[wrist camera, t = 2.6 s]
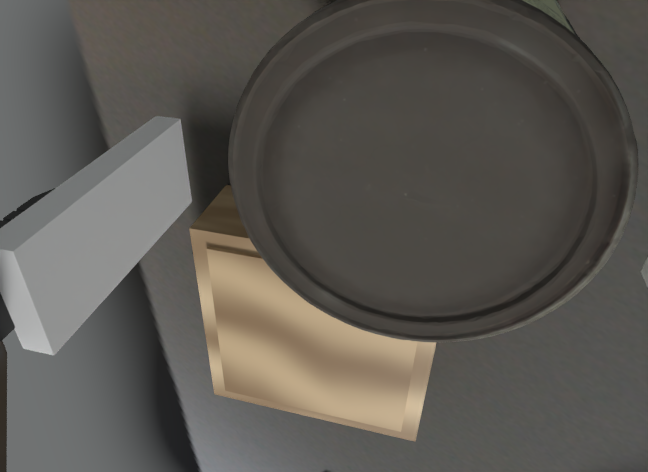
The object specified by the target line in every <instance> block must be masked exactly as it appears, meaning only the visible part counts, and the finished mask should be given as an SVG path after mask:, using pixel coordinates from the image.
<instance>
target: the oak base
mask: <svg viewBox="0 0 648 472" xmlns="http://www.w3.org/2000/svg"><path fill="white" fill-rule="evenodd" d="M189 229H190V235H191V242H192V249H193V255H194V262H195V268H196V275H197V282H198V288H199V295H200V301H201V308H202V315H203V321H204V328H205V334H206V341H207V348H208V354H209V361H210V367H211V374H212V381H213V387H214V394H216V395H220V396H225V397H229V398H233V399H237V400H241V401H246V402H250V403H254V404H258V405H263V406H267V407H271V408H275V409H280V410H284V411H288V412H292V413H297V414H301V415H305V416H309V417H313V418H318V419H322V420H326V421H330V422H335V423H339V424H343V425H347V426H352V427H356V428H360V429H364V430H368V431H373V432H377V433H381V434H385V435H390V436H394V437H398V438H402V439H407V440H411V441H416V436H417V431H418V426H419V422H420V417H421V412H422V408H423V403H424V398H425V393H426V389H427V384H428V379H429V375H430V370H431V365H432V360H433V356H434V351H435V346H436V342H435V343H434V342H419V341H410V340H400V339H395V338H390V337H386V336H382V335H377V334H374V333H370V332H367V331H364V330H361V329H358V328H356V327H353V326H351V325H349V324H346V323H344V322H342V321H340V320H338V319H336V318H334V317H331V316H330V315H328V314H326V313H324V312H323V311H321V310H319V309H318V308H316V307H314V306H313V305H311V304H309V303H308V302H307V301H305V300H304V299H303V298H302V297H300V296H299V295H298V294H297V293H295V292H294V291H293V290H292V289H291V288H289V287H288V286H287V285H286V284H285V283H284V282H283V281H282V280H281V279H280V278H279V277H278V276H277V275H276V274H275V273H274V272H273V271H272V270H271V269H270V268H269V266H268V265H267V264H266V262H265V261H264V260H263V258H262V257H261V256H260V254H259V253H258V251H257V250H256V249H255V247H254V245H253V244H252V242H251V240H250V239H249V236H248V234H247V232H246V229H245V227H244V226H243V224H242V222H241V219H240V216H239V213H238V210H237V208H236V204H235V201H234V198H233V194H232V188H231V186H230V185H226V186H225V187H224V188H223V189H222V190H221V192H220V193H219V194H218V195H217V196H216V198H215V199H214V200H213V201H212V202H211V203H210V205H209V206H208V207H207V208H206V209H205V211H204V212H203V213H202V214H201V215H200V216H199V218H198V219H197V220H196V221H195V222H194V224H193V225H192V226H191V227H190V228H189Z"/></svg>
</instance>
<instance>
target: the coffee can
mask: <svg viewBox="0 0 648 472" xmlns="http://www.w3.org/2000/svg"><path fill="white" fill-rule="evenodd" d="M228 167H229V178H230V184H231V188H232V194H233V198H234V201H235V204H236V208H237V210H238V213H239V216H240V219H241V222H242V224H243V226H244V227H245V229H246V232H247V234H248V236H249V239H250V240H251V242H252V244H253V245H254V247H255V249H256V250H257V251H258V253H259V254H260V256H261V257H262V258H263V260H264V261H265V262H266V264H267V265H268V266H269V268H270V269H271V270H272V271H273V272H274V273H275V274H276V275H277V276H278V277H279V278H280V279H281V280H282V281H283V282H284V283H285V284H286V285H287V286H288V287H289V288H291V289H292V290H293V291H294V292H295V293H297V294H298V295H299V296H300V297H302V298H303V299H304V300H305V301H307V302H308V303H309V304H311V305H313V306H314V307H316V308H318V309H319V310H321V311H323V312H324V313H326V314H328V315H330V316H331V317H334V318H336V319H338V320H340V321H342V322H344V323H346V324H349V325H351V326H353V327H356V328H358V329H361V330H364V331H367V332H370V333H374V334H377V335H382V336H386V337H390V338H395V339H400V340H410V341H419V342H434V343H435V342H458V341H468V340H475V339H480V338H485V337H490V336H494V335H498V334H502V333H505V332H508V331H511V330H514V329H517V328H519V327H522V326H524V325H527V324H529V323H532V322H534V321H536V320H538V319H539V318H541V317H543V316H544V315H546V314H548V313H550V312H552V311H554V310H555V309H557V308H558V307H560V306H561V305H563V304H564V303H566V302H567V301H568V300H570V299H571V298H572V297H573V296H575V295H576V294H577V293H578V292H579V291H580V290H581V289H582V288H584V287H585V286H586V285H587V284H588V283H589V282H590V281H591V280H592V279H593V278H594V276H595V275H596V274H597V273H598V272H599V271H600V269H601V268H602V267H603V266H604V265H605V263H606V262H607V260H608V259H609V257H610V256H611V255H612V253H613V251H614V249H615V248H616V246H617V244H618V242H619V241H620V239H621V237H622V235H623V232H624V230H625V228H626V226H627V223H628V221H629V218H630V214H631V210H632V208H633V204H634V200H635V194H636V188H637V182H638V149H637V143H636V139H635V135H634V131H633V127H632V122H631V119H630V116H629V113H628V110H627V107H626V104H625V102H624V100H623V98H622V95H621V93H620V91H619V89H618V87H617V85H616V84H615V82H614V80H613V79H612V77H611V75H610V74H609V72H608V71H607V70H606V68H605V67H604V66H603V65H602V63H601V62H600V61H599V60H598V58H597V57H596V56H595V55H594V54H593V52H592V51H591V50H590V49H589V48H588V47H587V45H586V44H585V43H584V42H583V41H581V40H580V38H579V37H578V35H577V34H576V33H575V31H574V29H573V27H572V26H571V24H570V22H569V20H568V19H567V18H566V16H565V15H564V13H563V11H562V9H561V8H560V6H559V4H558V2H557V1H556V0H336V1H335V2H333V3H331V4H329V5H327V6H325V7H323V8H321V9H320V10H318V11H316V12H315V13H313V14H312V15H310V16H309V17H307V18H306V19H304V20H303V21H301V22H300V23H299V24H297V25H296V26H295V27H293V28H292V29H291V30H290V31H289V32H288V33H287V34H286V35H285V36H283V37H282V38H281V39H280V40H279V41H278V42H277V43H276V44H275V45H274V46H273V47H272V48H271V49H270V50H269V52H268V53H267V54H266V56H265V57H264V58H263V60H262V61H261V62H260V64H259V65H258V66H257V68H256V69H255V71H254V72H253V74H252V76H251V78H250V80H249V82H248V84H247V85H246V87H245V89H244V92H243V94H242V96H241V98H240V100H239V103H238V106H237V109H236V113H235V116H234V118H233V123H232V127H231V133H230V138H229V149H228Z"/></svg>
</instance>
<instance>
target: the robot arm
mask: <svg viewBox="0 0 648 472" xmlns="http://www.w3.org/2000/svg"><path fill="white" fill-rule="evenodd" d="M191 202H192V198H191V191H190V184H189V177H188V169H187V162H186V155H185V148H184V141H183V134H182V126H181V119H177V118H169V117H161V116H155V117H154V118H153V119H151V120H150V121H148V122H147V123H146V124H144V125H143V126H141V127H140V128H139V129H137V130H136V131H135V132H133V133H132V134H130V135H129V136H128V137H126V138H125V139H123V140H122V141H121V142H119V143H118V144H116V145H115V146H114V147H112V148H111V149H110V150H108V151H107V152H105V153H104V154H103V155H101V156H100V157H98V158H97V159H96V160H94V161H93V162H92V163H90V164H89V165H87V166H86V167H85V168H83V169H82V170H81V171H79V172H78V173H76V174H75V175H74V176H72V177H71V178H69V179H68V180H67V181H65V182H64V183H62V184H61V185H60V186H58V187H57V188H56V189H55V188H54V189H52V190H49V191H47V192H45V193H42V194H40V195H38V196H35V197H33V198H31V199H30V200H28V201H27V202H26V203H24V204H23V205H21V206H20V207H19V208H17V211H13V212H11V213H10V214H9V215H7V216H6V217H4V218H3V219H4V220H3V221H0V472H6V446H7V444H6V441H7V437H6V436H7V352H6V349H5V346H4V344H3V342H2V340H3V339H4V338H5V337H6V336H7V335H8V334H9V333H10V332H11V331H12V330H13V329H15V331H16V333H17V336H18V338H19V340H20V343H21V345H22V347H23V348H24V349H28V350H32V351H37V352H41V353H45V354H50V355H55V354H56V353H57V352H58V350H59V349H60V348H61V347H62V346H63V345H64V344H65V343H66V342H67V340H68V339H69V338H70V337H71V336H72V335H73V334H74V333H75V331H76V330H77V329H78V328H79V327H80V326H81V325H82V324H83V323H84V322H85V320H86V319H87V318H88V317H89V316H90V315H91V314H92V313H93V311H94V310H95V309H96V308H97V307H98V306H99V305H100V304H101V303H102V301H103V300H104V299H105V298H106V297H107V296H108V295H109V294H110V293H111V291H112V290H113V289H114V288H115V287H116V286H117V285H118V284H119V283H120V281H121V280H122V279H123V278H124V277H125V276H126V275H127V274H128V273H129V271H130V270H131V269H132V268H133V267H134V266H135V265H136V264H137V263H138V261H139V260H140V259H141V258H142V257H143V256H144V255H145V254H146V253H147V251H148V250H149V249H150V248H151V247H152V246H153V245H154V244H155V242H156V241H157V240H158V239H159V238H160V237H161V236H162V235H163V234H164V232H165V231H166V230H167V229H168V228H169V227H170V226H171V225H172V224H173V222H174V221H175V220H176V219H177V218H178V217H179V216H180V215H181V214H182V212H183V211H184V210H185V209H186V208H187V207H188V206H189V205H190V203H191ZM641 273H642V276H643V278H644V280H645V283H646V285H647V287H648V257H647V259H646V262H645V264H644V266H643V268H642V270H641Z"/></svg>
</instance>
